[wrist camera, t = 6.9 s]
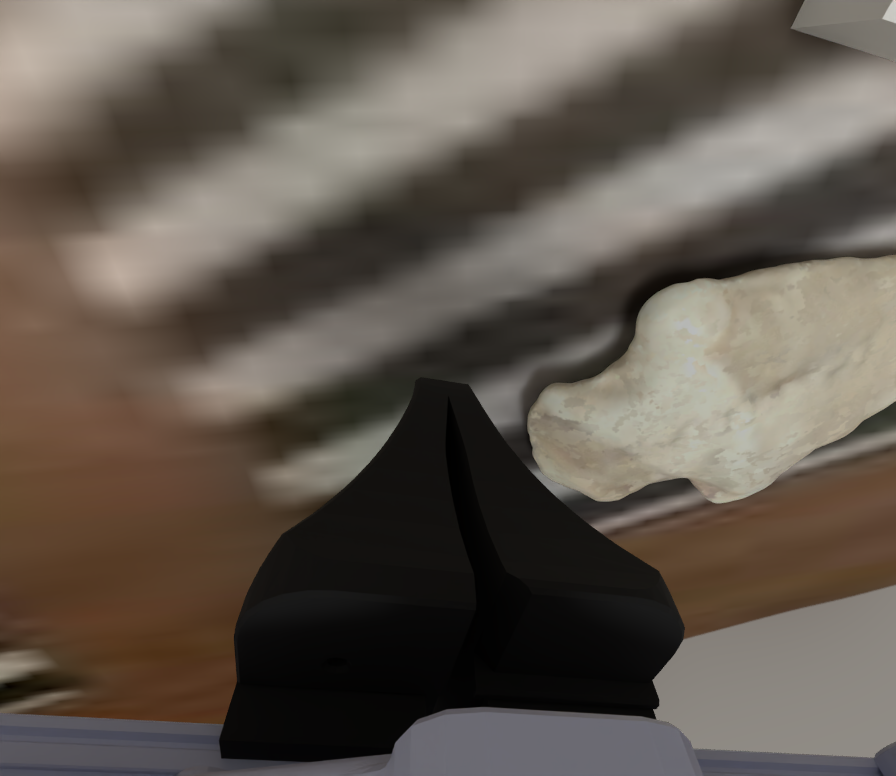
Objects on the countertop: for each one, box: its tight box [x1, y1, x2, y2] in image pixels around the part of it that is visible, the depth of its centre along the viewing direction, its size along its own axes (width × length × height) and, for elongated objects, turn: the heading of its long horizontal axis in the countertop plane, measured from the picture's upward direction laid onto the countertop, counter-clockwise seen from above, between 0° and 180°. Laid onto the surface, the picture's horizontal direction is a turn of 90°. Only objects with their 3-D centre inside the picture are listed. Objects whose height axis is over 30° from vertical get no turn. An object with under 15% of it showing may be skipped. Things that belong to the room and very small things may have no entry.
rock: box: [527, 255, 896, 503], centre depth 22 cm, size 4×13×20 cm
